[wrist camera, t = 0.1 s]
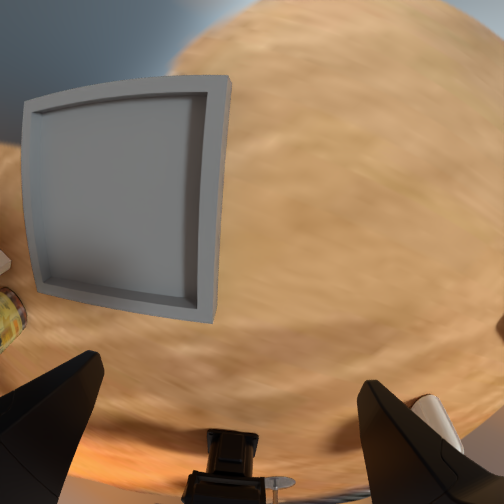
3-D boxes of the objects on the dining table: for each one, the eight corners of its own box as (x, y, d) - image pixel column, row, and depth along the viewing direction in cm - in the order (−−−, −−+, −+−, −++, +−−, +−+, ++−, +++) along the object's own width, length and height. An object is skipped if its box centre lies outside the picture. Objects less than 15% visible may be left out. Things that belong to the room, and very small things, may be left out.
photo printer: (412, 433, 32) (434, 495, 20) (389, 439, 32) (408, 504, 21) (440, 390, 28) (475, 458, 17) (415, 395, 29) (448, 470, 17)
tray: (217, 307, 24) (212, 323, 22) (50, 281, 24) (37, 292, 22) (232, 83, 18) (228, 75, 16) (41, 102, 18) (24, 101, 16)
